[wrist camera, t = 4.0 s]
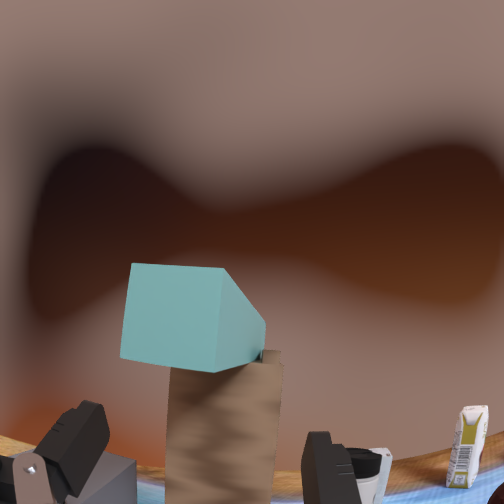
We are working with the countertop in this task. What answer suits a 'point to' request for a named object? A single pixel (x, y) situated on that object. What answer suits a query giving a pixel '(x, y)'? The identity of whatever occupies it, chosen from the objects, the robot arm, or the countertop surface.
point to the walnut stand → (223, 433)
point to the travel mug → (366, 472)
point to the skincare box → (382, 473)
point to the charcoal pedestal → (108, 481)
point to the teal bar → (189, 319)
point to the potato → (497, 496)
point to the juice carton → (467, 446)
